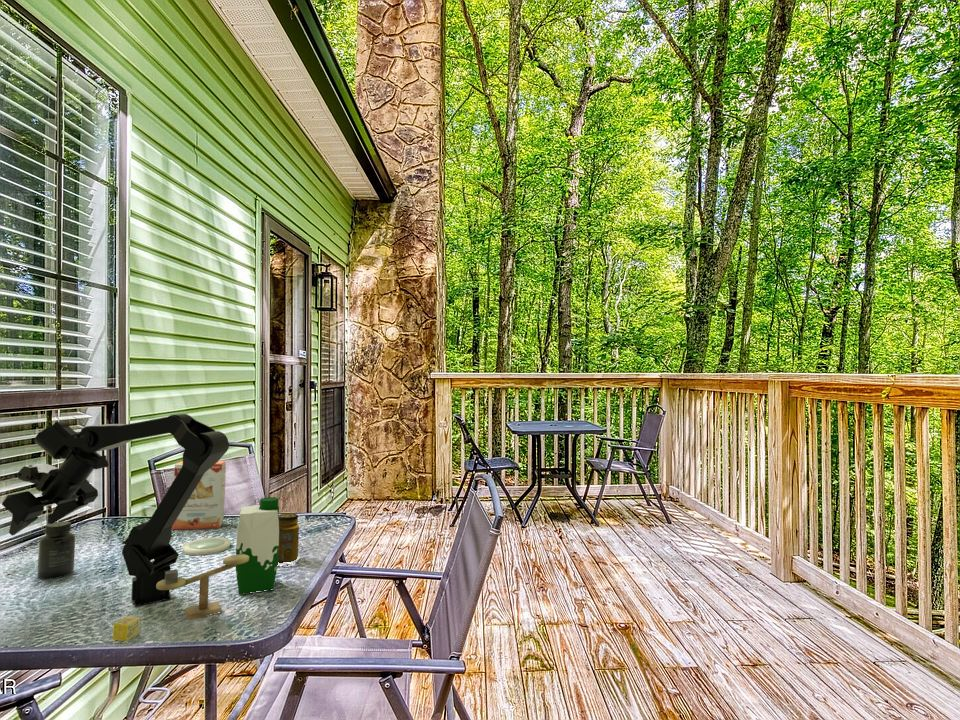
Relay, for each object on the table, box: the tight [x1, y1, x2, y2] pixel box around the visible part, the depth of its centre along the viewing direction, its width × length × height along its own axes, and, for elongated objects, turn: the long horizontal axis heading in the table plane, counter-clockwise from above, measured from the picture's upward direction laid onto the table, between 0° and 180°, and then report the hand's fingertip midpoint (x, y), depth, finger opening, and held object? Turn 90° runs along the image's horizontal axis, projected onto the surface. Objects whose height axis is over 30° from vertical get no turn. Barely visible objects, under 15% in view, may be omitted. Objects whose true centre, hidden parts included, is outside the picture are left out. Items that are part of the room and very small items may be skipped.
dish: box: [181, 537, 231, 556], centre depth 146 cm, size 12×12×1 cm
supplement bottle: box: [37, 521, 76, 580], centre depth 125 cm, size 7×7×12 cm
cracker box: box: [172, 460, 227, 531], centre depth 167 cm, size 14×6×21 cm, turn 104°
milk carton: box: [235, 496, 280, 595], centre depth 120 cm, size 9×9×20 cm
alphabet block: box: [112, 615, 142, 642], centre depth 96 cm, size 3×3×3 cm
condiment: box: [278, 512, 300, 563], centre depth 137 cm, size 7×8×12 cm
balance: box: [156, 554, 249, 621], centre depth 106 cm, size 17×5×10 cm, turn 126°
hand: (31, 528), depth 115 cm, fingers open, 9 cm apart
